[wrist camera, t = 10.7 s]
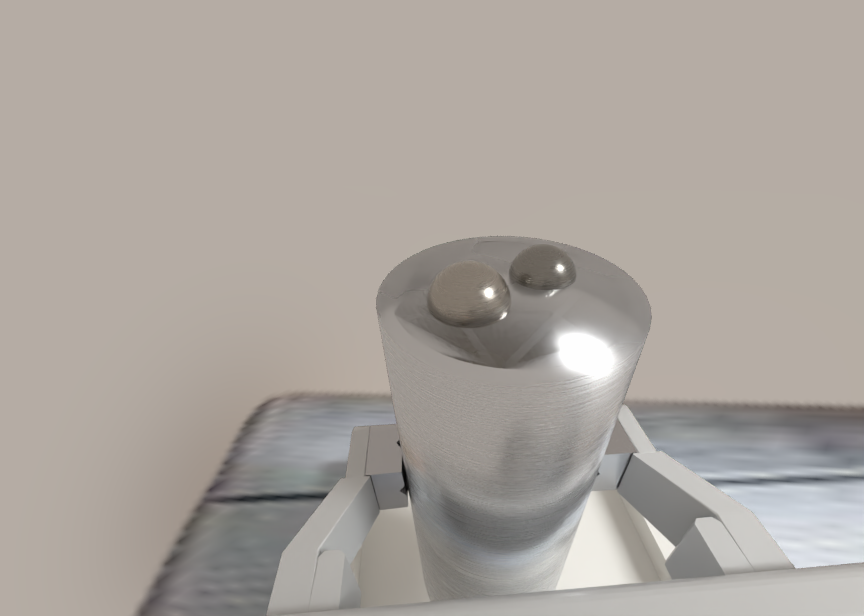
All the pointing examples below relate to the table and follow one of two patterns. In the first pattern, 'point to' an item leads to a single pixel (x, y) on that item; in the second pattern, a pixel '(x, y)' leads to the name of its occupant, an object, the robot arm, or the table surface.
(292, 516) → the table surface
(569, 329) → the metal cup with balls
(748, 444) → the table surface
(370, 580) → the cream tray
